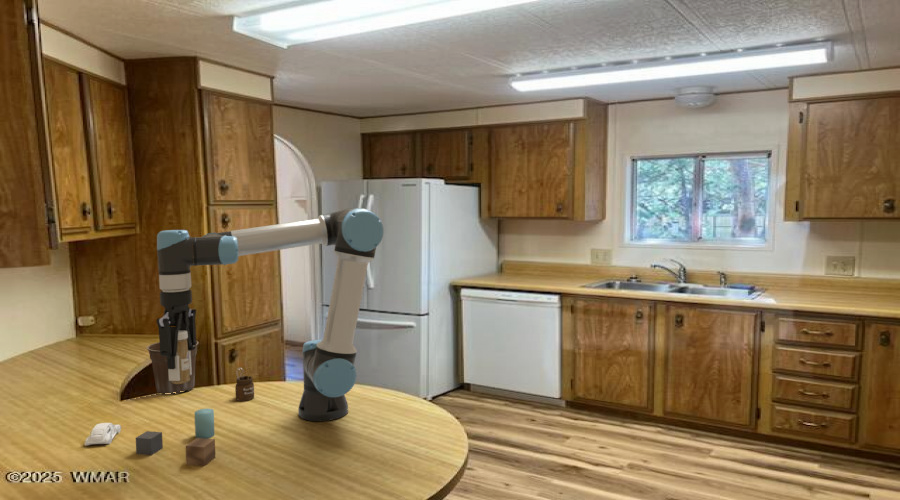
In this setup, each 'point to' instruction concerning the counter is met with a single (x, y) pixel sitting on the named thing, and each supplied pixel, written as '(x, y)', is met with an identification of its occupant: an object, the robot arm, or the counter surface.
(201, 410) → the teal cylinder
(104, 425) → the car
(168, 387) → the plant pot
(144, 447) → the black plastic cube
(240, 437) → the counter surface
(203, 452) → the walnut block
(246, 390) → the utensil holder
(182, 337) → the sprinkles bottle
